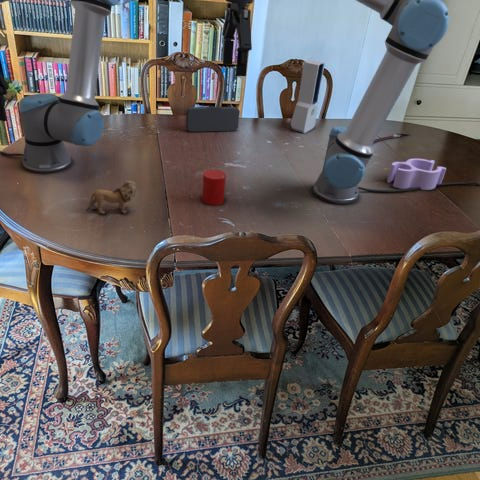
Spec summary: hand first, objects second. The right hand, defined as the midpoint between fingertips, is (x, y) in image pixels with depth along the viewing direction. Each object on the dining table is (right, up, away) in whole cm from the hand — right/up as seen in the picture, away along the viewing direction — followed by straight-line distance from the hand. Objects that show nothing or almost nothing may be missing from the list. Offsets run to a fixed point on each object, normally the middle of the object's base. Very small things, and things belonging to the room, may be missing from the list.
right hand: (233, 69), depth 133 cm
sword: (+70, -3, +80) cm, 106 cm away
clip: (+66, -27, +41) cm, 83 cm away
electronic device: (+30, +3, +82) cm, 87 cm away
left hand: (-62, -21, -18) cm, 68 cm away
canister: (-7, -36, +16) cm, 40 cm away
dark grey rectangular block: (-10, -1, +69) cm, 69 cm away
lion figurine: (-36, -40, +5) cm, 54 cm away
